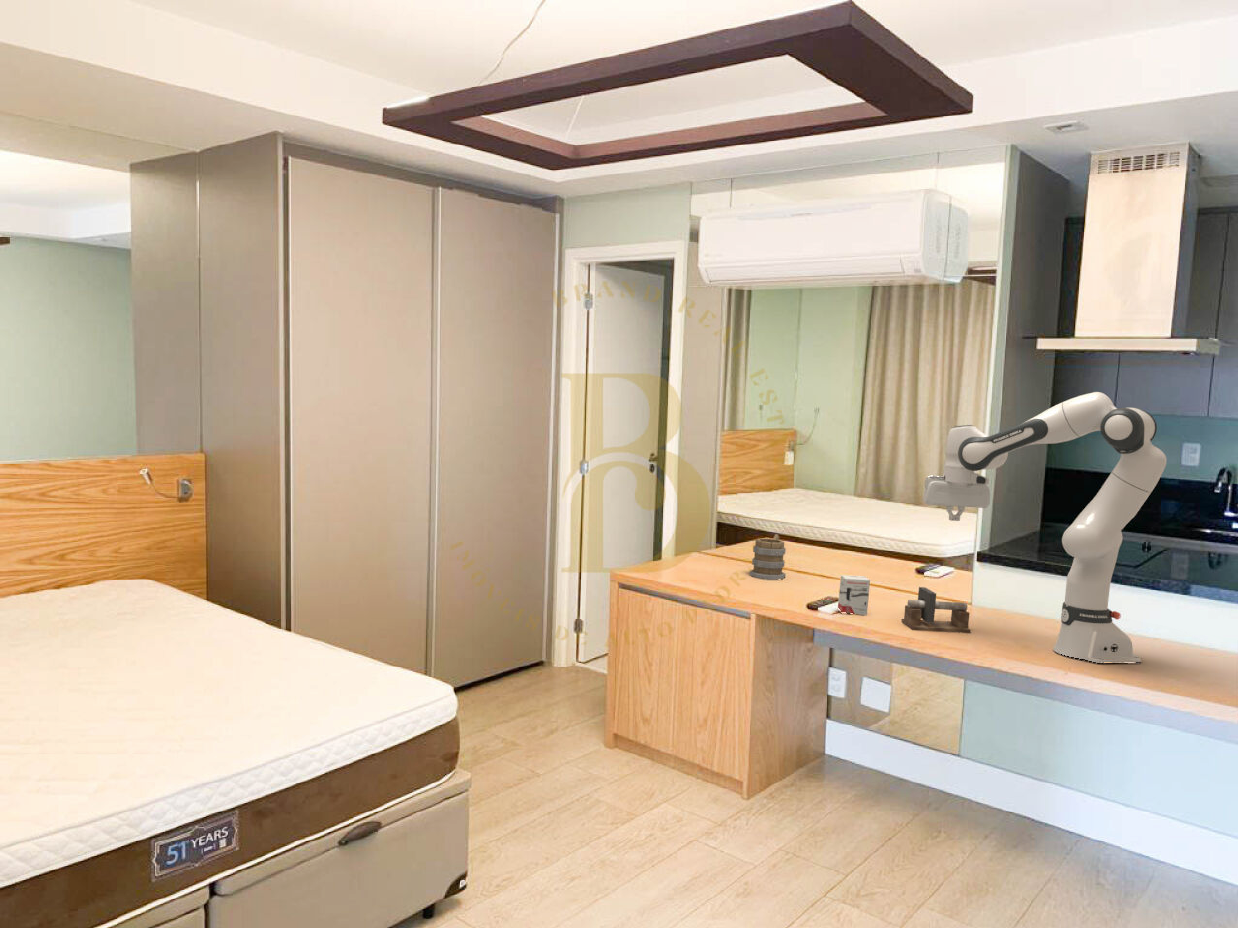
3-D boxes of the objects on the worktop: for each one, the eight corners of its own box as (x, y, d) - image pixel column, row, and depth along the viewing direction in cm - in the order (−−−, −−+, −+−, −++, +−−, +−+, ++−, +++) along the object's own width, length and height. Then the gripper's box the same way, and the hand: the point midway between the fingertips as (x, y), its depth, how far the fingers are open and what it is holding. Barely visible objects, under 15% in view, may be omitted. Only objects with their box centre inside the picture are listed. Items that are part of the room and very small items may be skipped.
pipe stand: (957, 624, 292) (959, 598, 291) (970, 632, 282) (973, 606, 281) (901, 621, 291) (903, 595, 290) (912, 630, 281) (915, 603, 280)
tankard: (779, 581, 343) (782, 541, 342) (746, 576, 349) (749, 537, 347) (792, 573, 361) (795, 535, 360) (761, 569, 367) (764, 531, 366)
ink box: (841, 614, 296) (844, 577, 295) (837, 610, 301) (840, 574, 300) (867, 615, 297) (870, 579, 296) (862, 611, 302) (865, 576, 301)
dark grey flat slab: (922, 615, 290) (925, 587, 290) (933, 622, 281) (936, 593, 281) (916, 615, 290) (918, 587, 290) (927, 622, 281) (929, 593, 281)
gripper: (929, 475, 284) (925, 520, 285) (994, 479, 285) (989, 523, 286) (921, 473, 290) (917, 517, 291) (985, 477, 291) (981, 520, 292)
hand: (954, 520), depth 289 cm, fingers closed
